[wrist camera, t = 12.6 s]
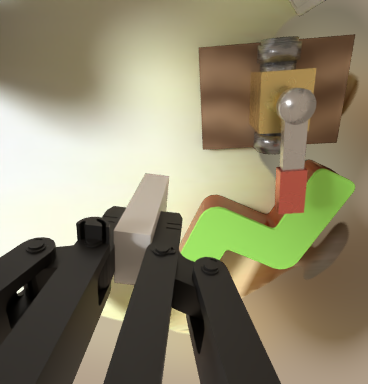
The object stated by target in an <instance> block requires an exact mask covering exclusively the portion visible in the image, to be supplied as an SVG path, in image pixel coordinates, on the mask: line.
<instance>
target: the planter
mask: <svg viewBox="0 0 368 384" xmlns="http://www.w3.org/2000/svg"><path fill="white" fill-rule="evenodd" d="M304 167H305V168H306V169H307V170H308V173H307V185H306V196H305V207H304V213H292V214H278V212H277V211H276V209H275V206H274V207H273V209H272V210H271V212H270V213H269V214H263V213H260V212H258V211H256V210H253V209H251V208H249V207H246V206H244V205H242V204H239V203H237V202H235V201H232V200H230V199H228V198H225V197H223V196H219V195H211V196H209V197H207V198H205V199H204V201H203V202H202V203H201V205H200V207H199V209H198V211H197V213H196V215H195V217H194V218H193V220H192V222H191V224H190V226H189V228H188V230H187V232H186V234H185V236H184V237H183V239H182V241H181V243H180V245H179V251H180V253H181V254H182V255H183V256H184V257H185V258H187V259H189V260H191V261H194V262H195V261H196V260H197V259H199V258H202V257H213V258H216V259H218V260H220V259H221V257H222V256H223V254H224V252H225V251H226V250H230V251H233V252H235V253H238V254H240V255H243V256H245V257H248V258H250V259H253V260H255V261H258V262H260V263H263V264H265V265H268V266H270V267H273V268H276V269H287V268H289V267H291V266H293V265H295V264H296V263H297V262H298V261H299V260H300V258H301V257H302V256H303V255H304V253H305V252H306V251H307V250H308V248H309V247H310V246H311V245H312V243H313V242H314V240H315V239H316V238H317V237H318V236H319V234H320V233H321V232H322V231H323V229H324V228H325V227H326V226H327V224H328V223H329V222H330V221H331V219H332V218H333V217H334V216H335V214H336V213H337V212H338V211H339V209H340V208H341V207H342V206H343V204H344V203H345V202H346V200H347V199H348V198H349V197H350V196H351V194H352V193H353V192H354V190H355V185H354V183H353V182H352V181H350V180H349V179H347V178H344V177H342V176H340V175H339V174H337V173H336V172H334V171H333V170H331V169H330V168H328V167H325V166H323V165H321V164H319V163H317V162H315V161H313V160H309V159H308V160H305V165H304Z"/></svg>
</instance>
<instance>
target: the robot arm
mask: <svg viewBox="0 0 368 384" xmlns="http://www.w3.org/2000/svg"><path fill="white" fill-rule="evenodd" d="M168 184H169V176H163V175H155V174H147V173H145V175H144V177H143V179H142V181H141V182H140V184H139V186H138V188H137V190H136V191H135V193H134V195H133V197H132V199H131V200H130V202H129V204H128V206H127V208H125V207H117V206H113V207H112V208H110V209H108V210H107V211H106V212H105V214H104V215H103V217H102V218H101V217H88V218H84V219H82V220H80V221H79V222H77V223H76V226H77V239H78V241H77V242H76V243H75V245H72V246H63V247H56V246H55V242H54V241H53V240H51V239H50V238H44V237H42V238H34V239H30V240H28V241H26V242H24V243H22V244H20V245H19V246H17V247H16V248H14V249H13V250H11V251H10V252H8V253H6V254H5V255H3V256H2V257H0V384H72V383H73V381H74V379H75V376H76V374H77V371H78V369H79V366H80V364H81V362H82V359H83V357H84V354H85V352H86V349H87V347H88V345H89V342H90V340H91V337H92V334H93V332H94V330H95V327H96V325H97V323H98V320H99V318H100V315H101V313H102V311H103V308H104V306H105V303H106V301H107V298H108V296H109V294H110V290H111V280H112V277H113V275H114V282H115V283H123V284H131V285H135V286H134V289H133V292H132V295H131V298H130V301H129V305H128V308H127V311H126V314H125V317H124V320H123V324H122V327H121V330H120V333H119V336H118V339H117V343H116V346H115V349H114V352H113V355H112V358H111V361H110V365H109V368H108V371H107V374H106V377H105V380H104V384H162V377H163V370H164V361H165V354H166V346H167V339H168V331H169V323H170V316H171V309H172V308H174V309H176V310H178V311H181V312H183V313H185V314H186V318H187V323H188V328H189V332H190V337H191V342H192V346H193V351H194V356H195V360H196V365H197V369H198V374H199V379H200V384H281V383H280V381H279V378H278V376H277V374H276V372H275V370H274V368H273V365H272V363H271V361H270V359H269V357H268V355H267V353H266V350H265V348H264V346H263V344H262V342H261V340H260V338H259V335H258V333H257V331H256V329H255V327H254V325H253V323H252V320H251V319H250V316H249V314H248V312H247V310H246V308H245V305H244V303H243V301H242V299H241V297H240V295H239V293H238V290H237V288H236V286H235V284H234V282H233V280H232V278H231V275H230V273H229V271H228V269H227V267H226V266H225V264H224V263H223V262H221V261H220V260H218V259H216V258H213V257H202V258H199V259H197V260H196V261H195V262H194V261H191V260H189V259H187V258H185V257H184V256H183V255H182V254H181V253H180V251H179V244H180V236H181V228H182V217H181V215H180V214H179V213H172V212H166V207H167V195H168ZM23 286H24V290H23V291H22V292H20V293H18V294H17V291H18V290H19V289H20V288H21V287H23Z"/></svg>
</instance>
